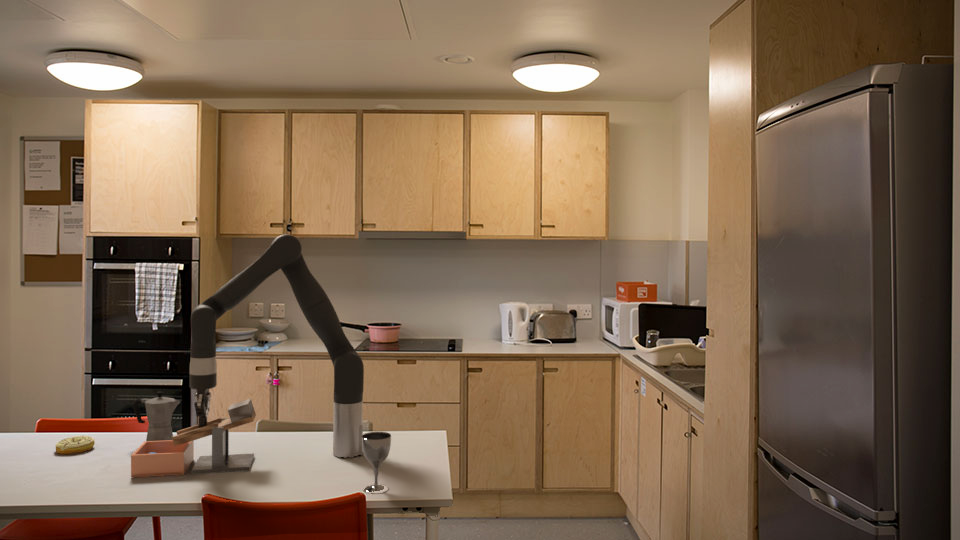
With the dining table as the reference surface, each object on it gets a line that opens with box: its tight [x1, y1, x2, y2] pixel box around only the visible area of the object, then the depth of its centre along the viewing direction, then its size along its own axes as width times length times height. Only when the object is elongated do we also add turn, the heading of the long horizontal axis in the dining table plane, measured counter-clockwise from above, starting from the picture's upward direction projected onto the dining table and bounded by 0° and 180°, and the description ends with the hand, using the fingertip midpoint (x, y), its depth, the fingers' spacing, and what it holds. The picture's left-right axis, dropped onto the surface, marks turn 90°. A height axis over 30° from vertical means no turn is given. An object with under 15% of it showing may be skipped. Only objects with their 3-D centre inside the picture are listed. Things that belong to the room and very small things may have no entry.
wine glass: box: [362, 431, 392, 493], centre depth 183 cm, size 8×8×15 cm
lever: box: [172, 398, 257, 447], centre depth 199 cm, size 23×8×6 cm, turn 102°
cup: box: [130, 440, 195, 478], centre depth 197 cm, size 14×14×6 cm
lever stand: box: [190, 417, 255, 475], centre depth 200 cm, size 16×13×13 cm
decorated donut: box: [55, 435, 96, 455], centre depth 213 cm, size 10×11×4 cm
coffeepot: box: [132, 391, 181, 441], centre depth 219 cm, size 15×9×18 cm, turn 92°
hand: (202, 428), depth 199 cm, fingers closed
